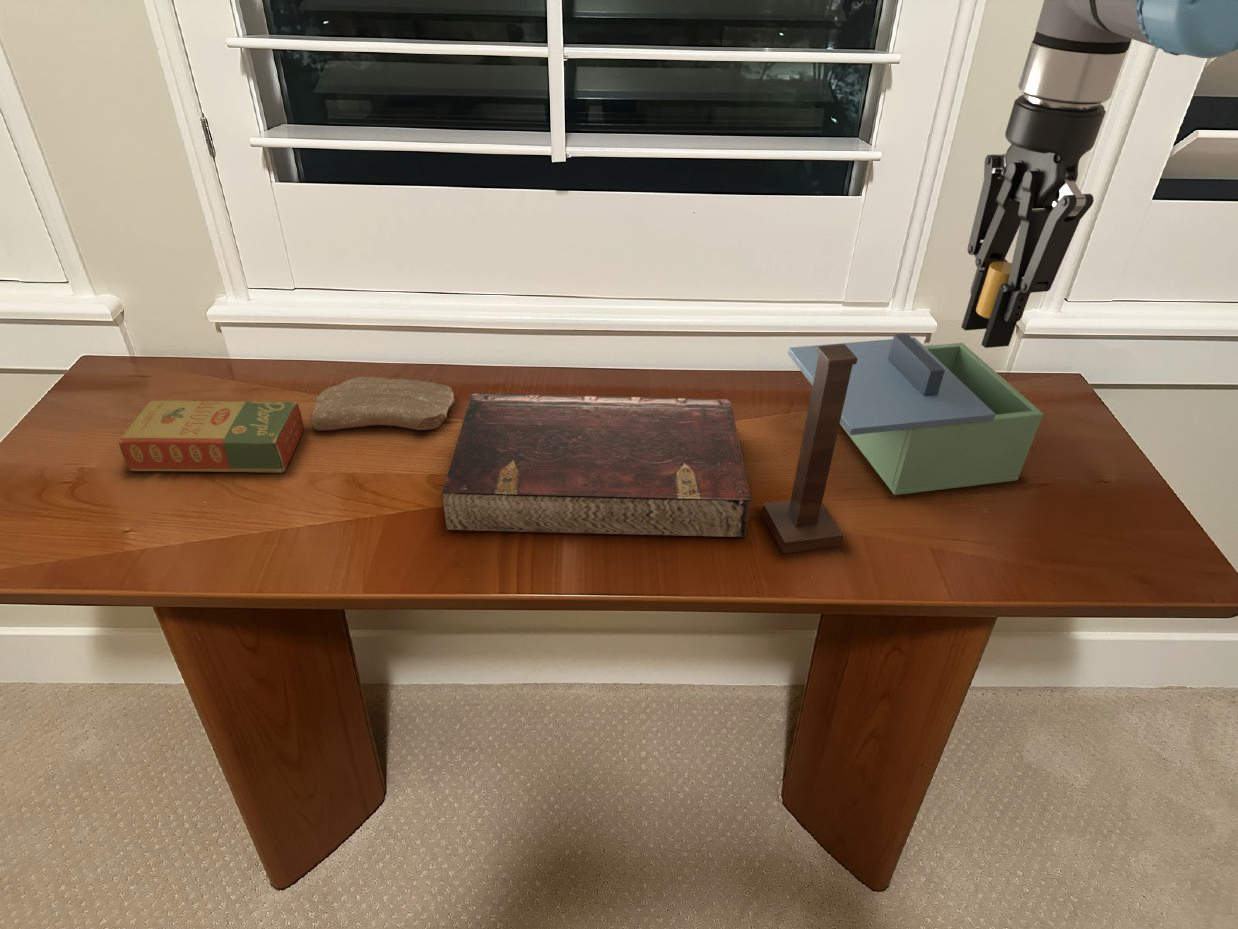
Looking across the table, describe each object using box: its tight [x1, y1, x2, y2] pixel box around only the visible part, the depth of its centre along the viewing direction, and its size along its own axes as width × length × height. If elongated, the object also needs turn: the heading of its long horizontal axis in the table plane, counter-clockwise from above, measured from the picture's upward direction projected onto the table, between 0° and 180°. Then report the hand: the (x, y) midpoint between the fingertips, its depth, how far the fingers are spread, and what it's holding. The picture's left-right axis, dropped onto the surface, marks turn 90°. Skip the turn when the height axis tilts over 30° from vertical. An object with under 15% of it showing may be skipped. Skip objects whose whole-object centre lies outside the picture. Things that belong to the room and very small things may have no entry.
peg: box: [976, 261, 1012, 319], centre depth 84 cm, size 3×3×5 cm
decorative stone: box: [310, 376, 455, 432], centre depth 96 cm, size 10×16×4 cm, turn 91°
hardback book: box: [441, 392, 752, 538], centre depth 86 cm, size 29×19×5 cm, turn 90°
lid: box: [787, 333, 995, 435], centre depth 87 cm, size 17×16×4 cm
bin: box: [839, 342, 1044, 496], centre depth 92 cm, size 16×15×9 cm
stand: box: [761, 343, 857, 555], centre depth 76 cm, size 6×6×20 cm
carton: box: [118, 400, 305, 474], centre depth 89 cm, size 8×16×4 cm, turn 92°
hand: (984, 336), depth 87 cm, fingers closed on peg, 3 cm apart
